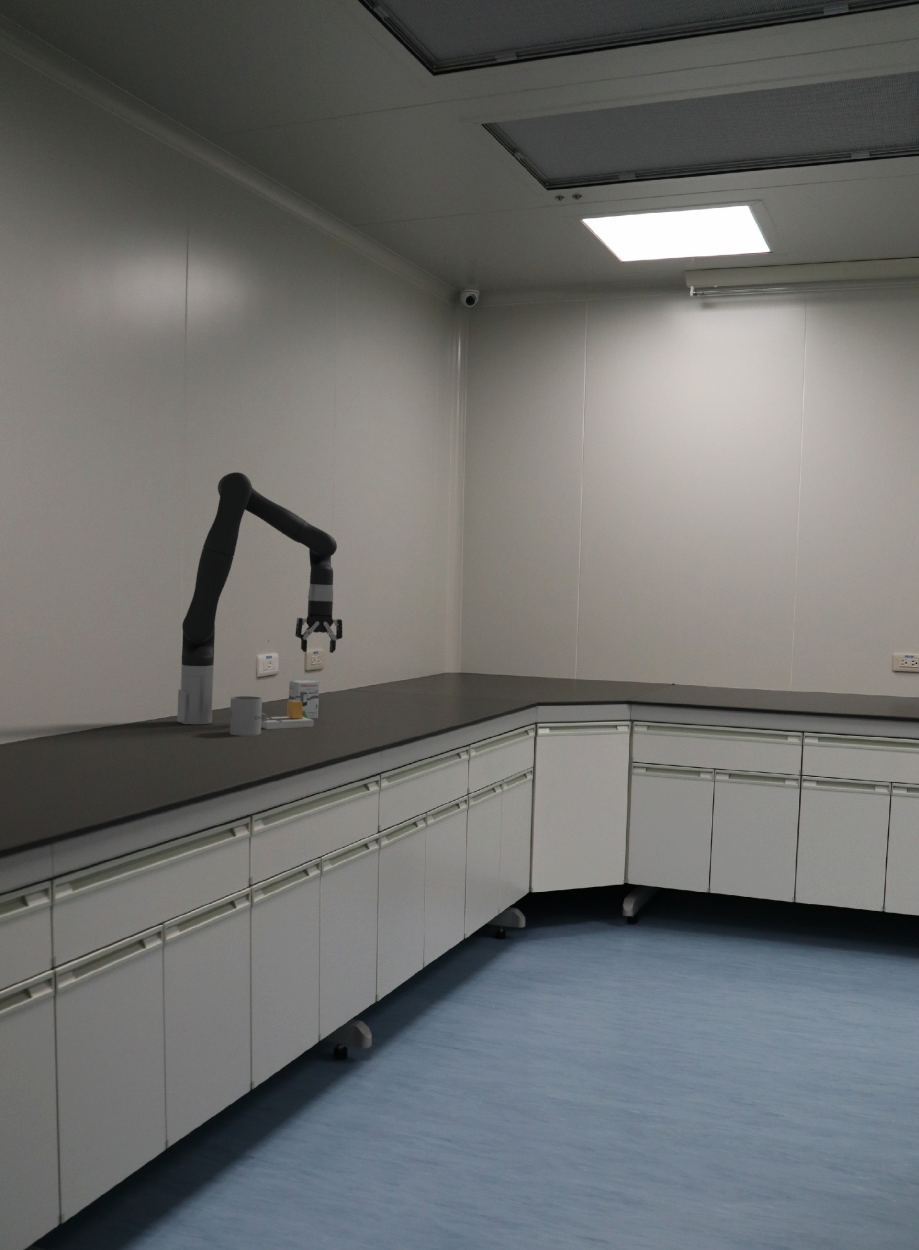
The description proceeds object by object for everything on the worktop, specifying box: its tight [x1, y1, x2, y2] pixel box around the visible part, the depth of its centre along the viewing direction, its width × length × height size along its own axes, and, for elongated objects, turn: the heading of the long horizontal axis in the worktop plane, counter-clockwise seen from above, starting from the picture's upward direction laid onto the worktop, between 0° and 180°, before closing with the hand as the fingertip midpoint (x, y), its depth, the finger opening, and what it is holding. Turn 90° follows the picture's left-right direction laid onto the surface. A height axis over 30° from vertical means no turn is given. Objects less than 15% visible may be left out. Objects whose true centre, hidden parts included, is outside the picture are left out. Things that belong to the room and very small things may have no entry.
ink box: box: [288, 679, 320, 720], centre depth 329 cm, size 9×5×12 cm, turn 135°
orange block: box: [286, 700, 302, 718], centre depth 313 cm, size 3×4×5 cm
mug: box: [229, 695, 263, 737], centre depth 295 cm, size 12×9×10 cm
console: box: [261, 712, 315, 730], centre depth 311 cm, size 15×10×4 cm, turn 124°
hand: (318, 652), depth 321 cm, fingers open, 8 cm apart
